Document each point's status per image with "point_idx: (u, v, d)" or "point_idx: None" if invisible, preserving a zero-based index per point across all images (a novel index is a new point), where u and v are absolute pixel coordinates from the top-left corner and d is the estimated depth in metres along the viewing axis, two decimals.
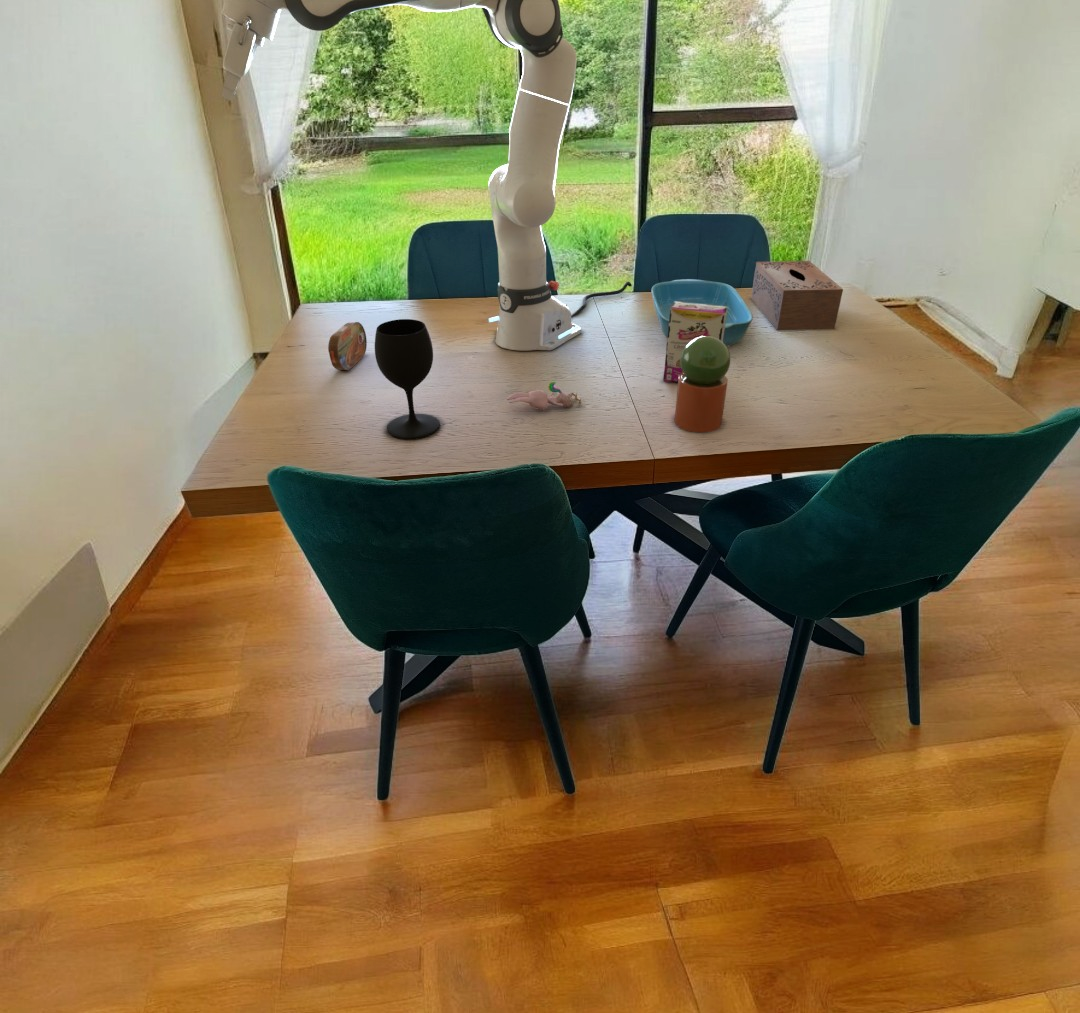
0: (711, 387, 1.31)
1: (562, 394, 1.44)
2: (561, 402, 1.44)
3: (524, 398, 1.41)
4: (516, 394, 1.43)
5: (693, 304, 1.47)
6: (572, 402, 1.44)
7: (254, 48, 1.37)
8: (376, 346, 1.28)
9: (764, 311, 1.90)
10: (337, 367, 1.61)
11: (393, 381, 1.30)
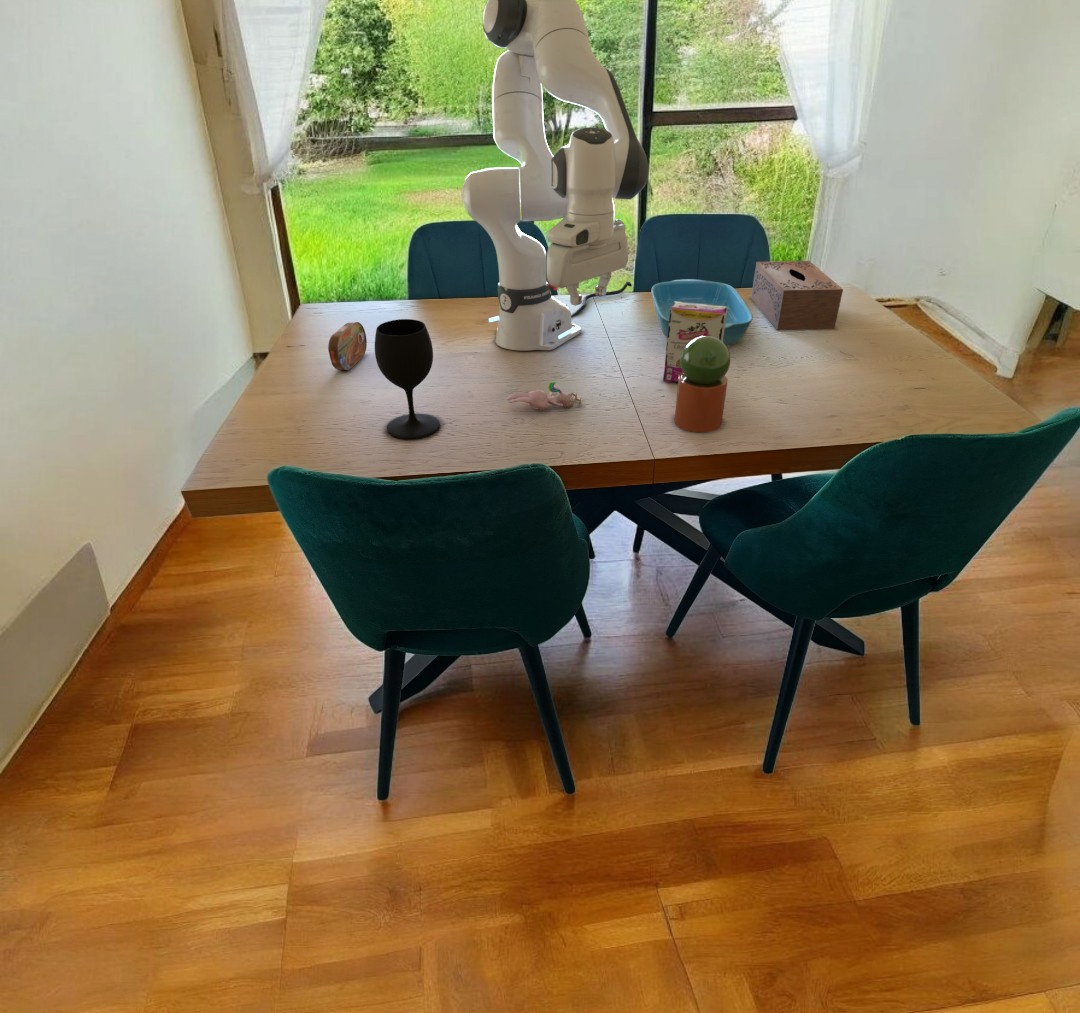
0: (711, 387, 1.31)
1: (562, 394, 1.44)
2: (561, 402, 1.44)
3: (524, 398, 1.41)
4: (516, 394, 1.43)
5: (693, 304, 1.47)
6: (572, 402, 1.44)
7: None
8: (376, 346, 1.28)
9: (764, 311, 1.90)
10: (337, 367, 1.61)
11: (393, 381, 1.30)
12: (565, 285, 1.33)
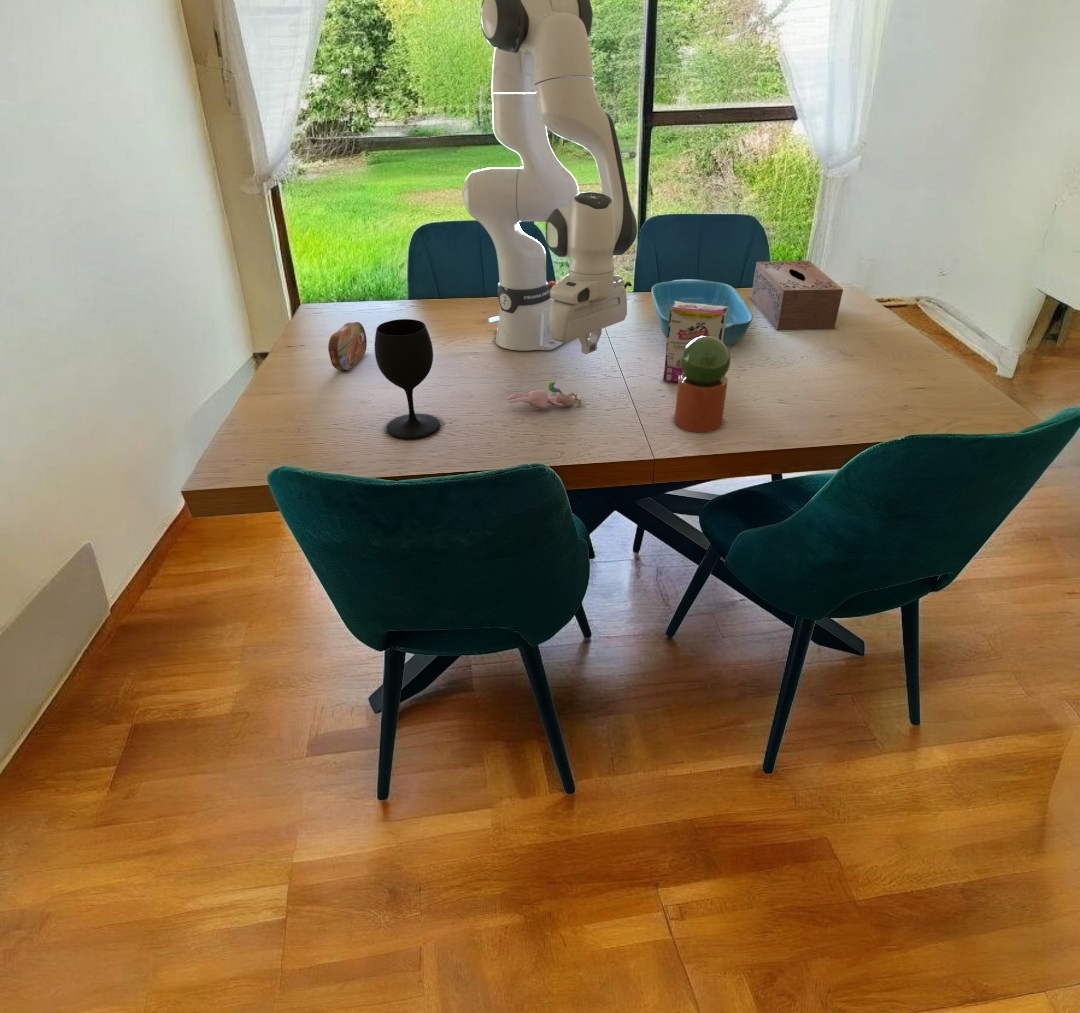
0: (711, 387, 1.31)
1: (562, 394, 1.44)
2: (561, 402, 1.44)
3: (524, 398, 1.41)
4: (516, 394, 1.43)
5: (693, 304, 1.47)
6: (572, 402, 1.44)
7: None
8: (376, 346, 1.28)
9: (764, 311, 1.90)
10: (337, 367, 1.61)
11: (393, 381, 1.30)
12: (567, 340, 1.39)
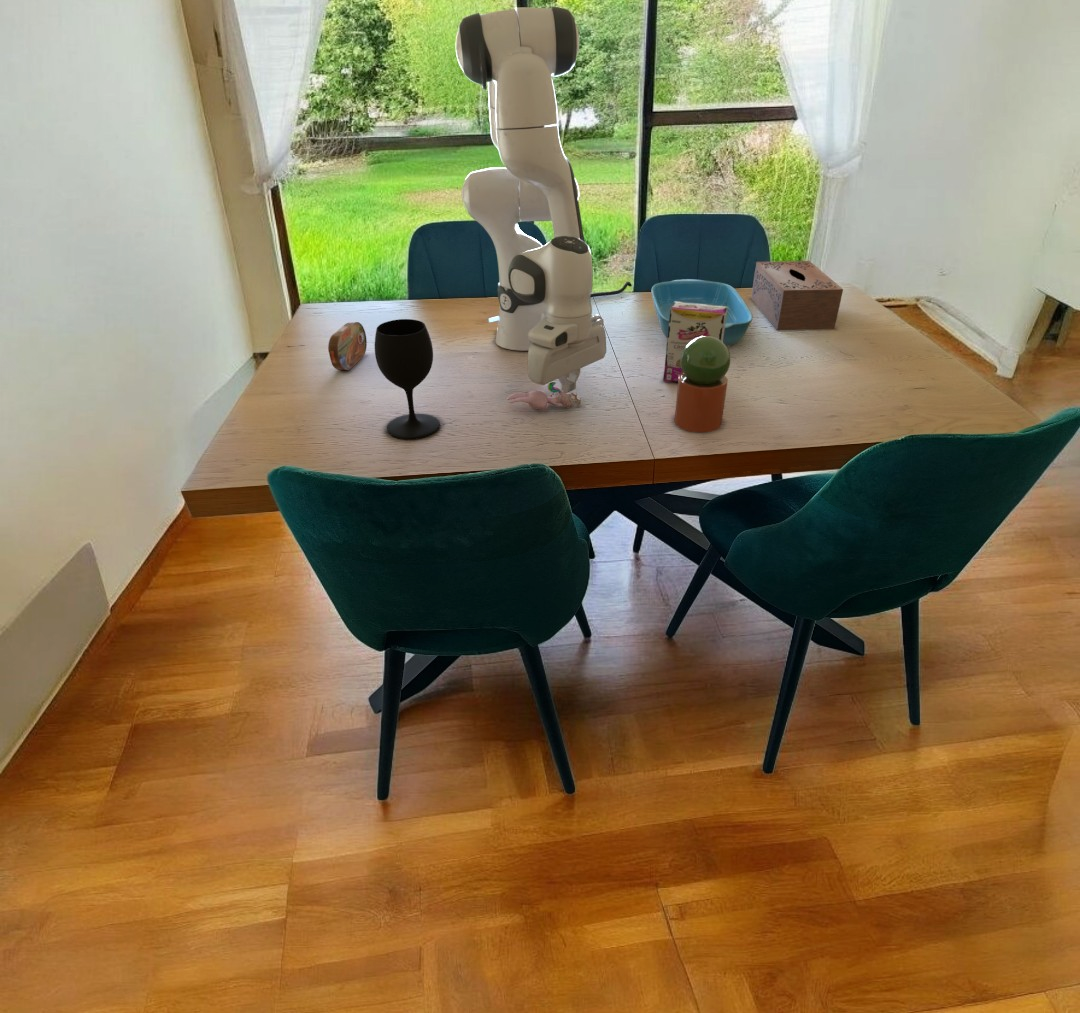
0: (711, 387, 1.31)
1: (562, 394, 1.44)
2: (561, 402, 1.44)
3: (524, 398, 1.41)
4: (516, 394, 1.43)
5: (693, 304, 1.47)
6: (572, 402, 1.44)
7: None
8: (376, 346, 1.28)
9: (764, 311, 1.90)
10: (337, 367, 1.61)
11: (393, 381, 1.30)
12: (546, 382, 1.39)
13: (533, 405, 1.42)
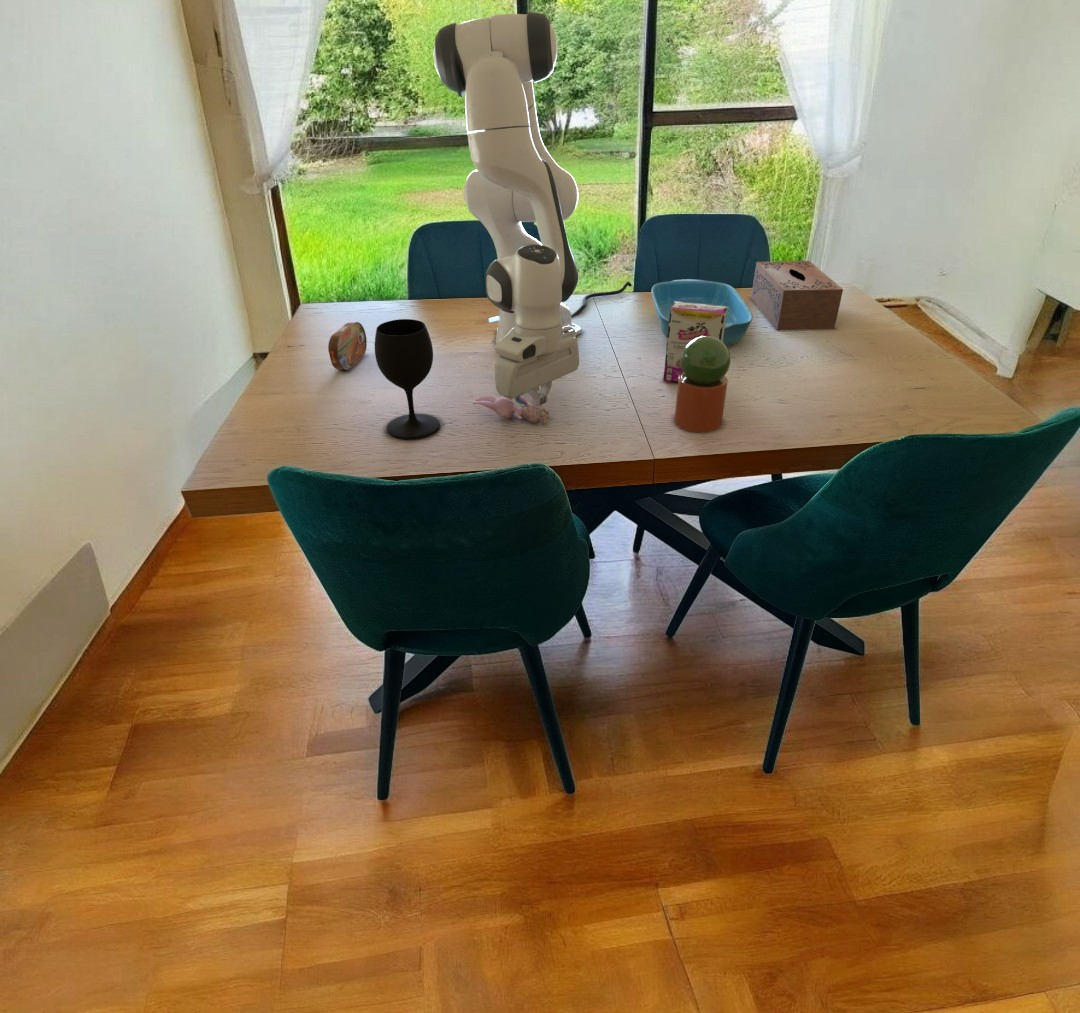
0: (711, 387, 1.31)
1: (527, 407, 1.39)
2: (525, 415, 1.40)
3: (486, 402, 1.40)
4: (485, 397, 1.42)
5: (693, 304, 1.47)
6: (535, 418, 1.39)
7: None
8: (376, 346, 1.28)
9: (764, 311, 1.90)
10: (337, 367, 1.61)
11: (393, 381, 1.30)
12: (514, 396, 1.34)
13: (495, 411, 1.40)
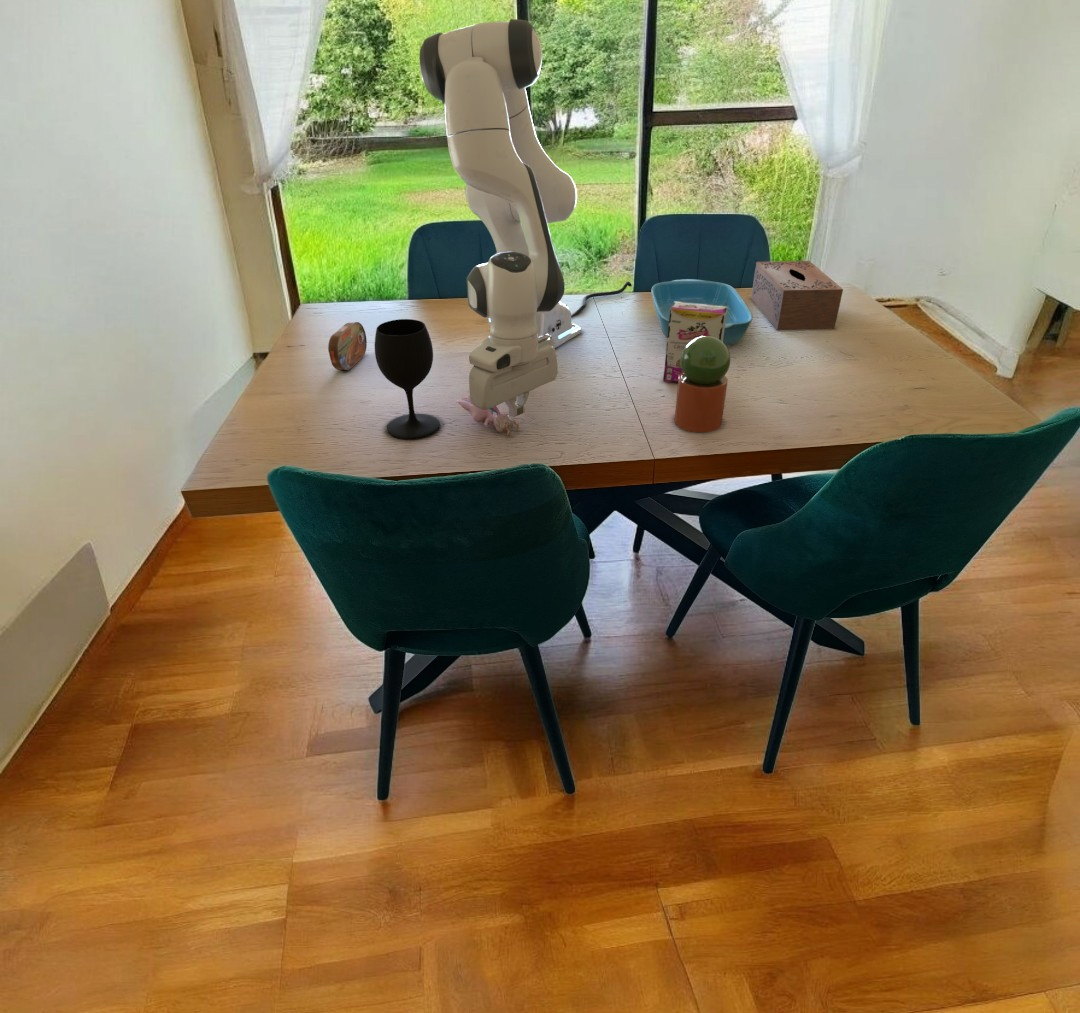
0: (711, 387, 1.31)
1: (497, 416, 1.36)
2: (494, 423, 1.37)
3: (464, 402, 1.40)
4: (469, 397, 1.42)
5: (693, 304, 1.47)
6: (500, 428, 1.35)
7: None
8: (376, 346, 1.28)
9: (764, 311, 1.90)
10: (337, 367, 1.61)
11: (393, 381, 1.30)
12: (488, 407, 1.31)
13: (470, 413, 1.40)
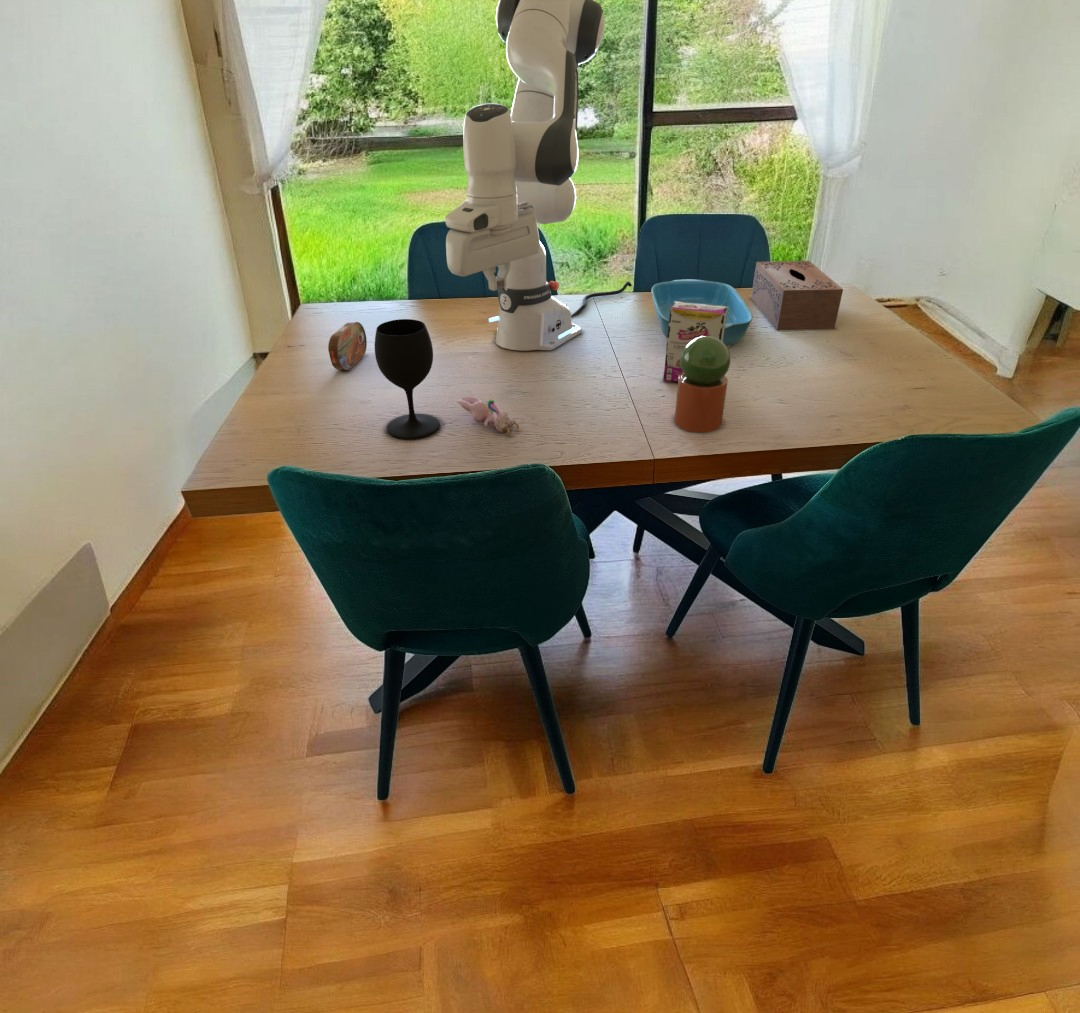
0: (711, 387, 1.31)
1: (497, 416, 1.36)
2: (494, 423, 1.37)
3: (464, 402, 1.40)
4: (469, 397, 1.42)
5: (693, 304, 1.47)
6: (500, 428, 1.35)
7: None
8: (376, 346, 1.28)
9: (764, 311, 1.90)
10: (337, 367, 1.61)
11: (393, 381, 1.30)
12: (466, 273, 1.25)
13: (470, 413, 1.40)
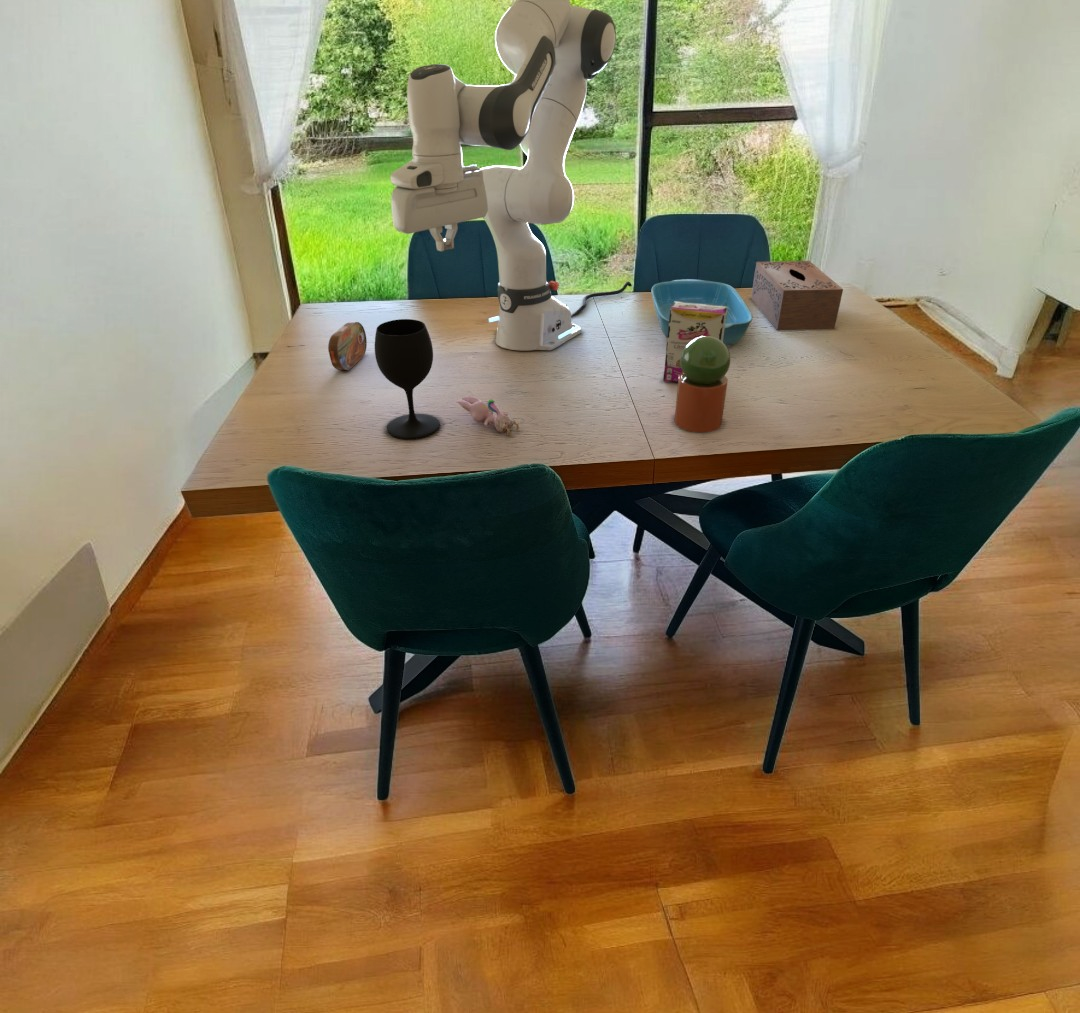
0: (711, 387, 1.31)
1: (497, 416, 1.36)
2: (494, 423, 1.37)
3: (464, 402, 1.40)
4: (469, 397, 1.42)
5: (693, 304, 1.47)
6: (500, 428, 1.35)
7: None
8: (376, 346, 1.28)
9: (764, 311, 1.90)
10: (337, 367, 1.61)
11: (393, 381, 1.30)
12: (411, 230, 1.28)
13: (470, 413, 1.40)
